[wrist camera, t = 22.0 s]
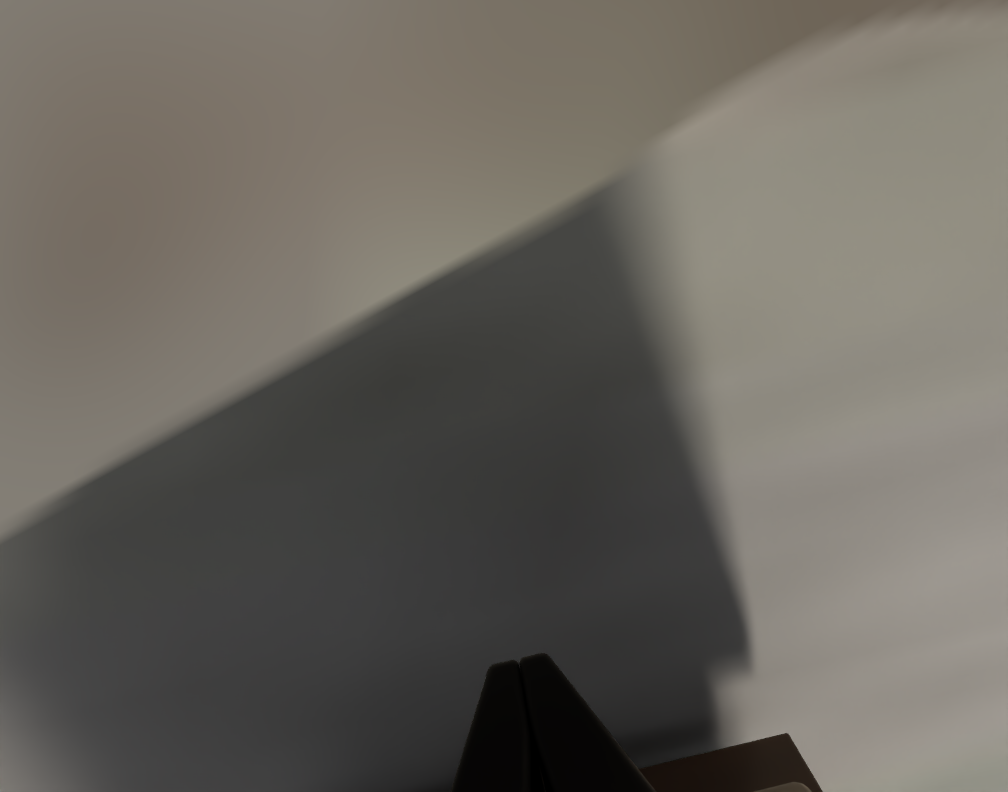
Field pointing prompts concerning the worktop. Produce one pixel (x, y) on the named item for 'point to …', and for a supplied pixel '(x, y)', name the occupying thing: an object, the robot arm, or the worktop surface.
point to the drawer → (737, 770)
